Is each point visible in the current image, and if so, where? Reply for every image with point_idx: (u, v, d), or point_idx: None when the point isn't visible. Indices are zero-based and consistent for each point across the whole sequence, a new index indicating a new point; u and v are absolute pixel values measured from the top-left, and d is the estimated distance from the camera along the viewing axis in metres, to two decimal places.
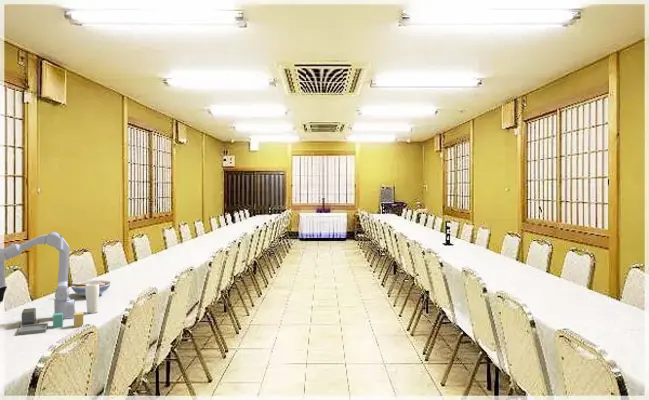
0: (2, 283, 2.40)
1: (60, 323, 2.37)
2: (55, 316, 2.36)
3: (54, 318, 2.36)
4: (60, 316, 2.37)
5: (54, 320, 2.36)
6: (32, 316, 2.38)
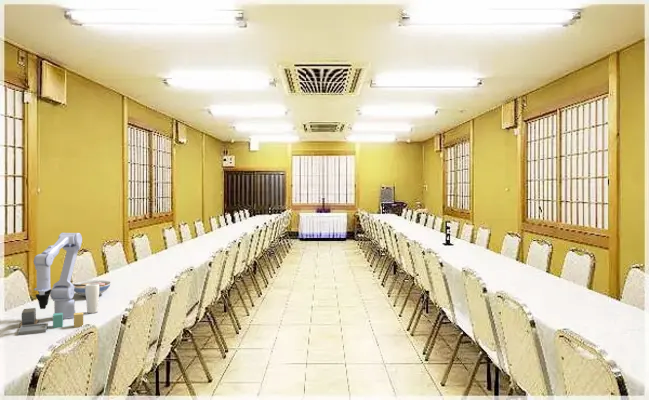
0: (47, 286, 2.36)
1: (60, 323, 2.37)
2: (55, 316, 2.36)
3: (54, 318, 2.36)
4: (60, 316, 2.37)
5: (54, 320, 2.36)
6: (32, 316, 2.38)
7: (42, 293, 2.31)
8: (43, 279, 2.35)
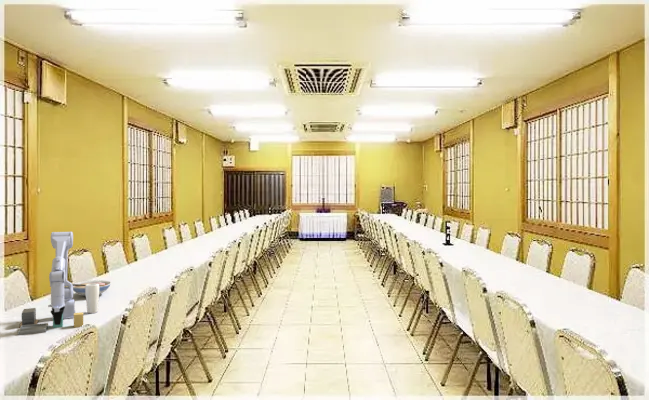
0: (62, 303, 2.37)
1: (60, 323, 2.37)
2: None
3: None
4: None
5: None
6: (32, 316, 2.38)
7: (57, 310, 2.31)
8: (57, 296, 2.35)
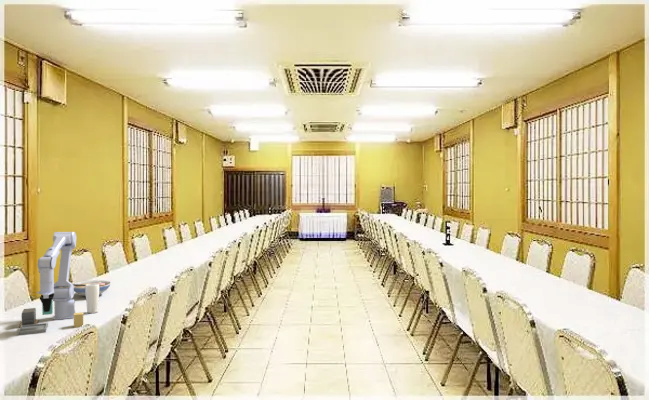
0: (51, 289, 2.33)
1: (50, 310, 2.33)
2: None
3: None
4: None
5: None
6: (32, 316, 2.38)
7: (46, 296, 2.28)
8: (47, 282, 2.32)
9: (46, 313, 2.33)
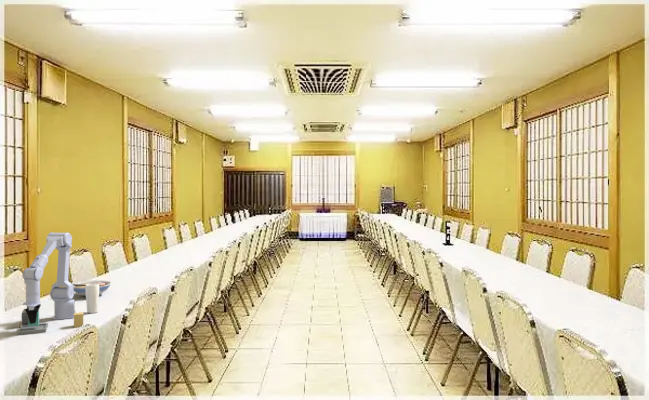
0: (37, 301, 2.30)
1: (36, 322, 2.30)
2: None
3: None
4: None
5: None
6: None
7: (31, 308, 2.24)
8: (32, 293, 2.28)
9: (32, 325, 2.29)
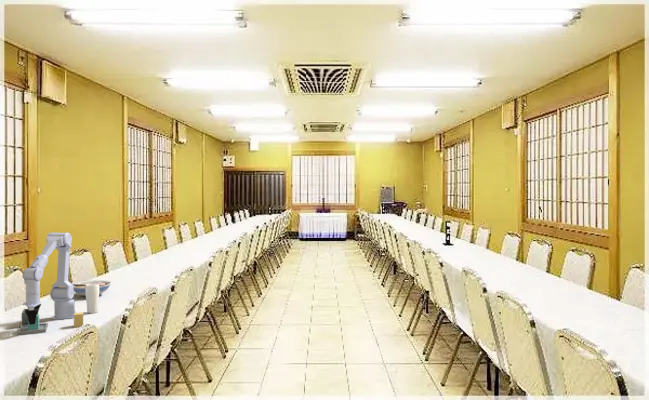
0: (37, 301, 2.30)
1: (36, 325, 2.30)
2: None
3: None
4: (36, 318, 2.30)
5: None
6: None
7: (31, 308, 2.24)
8: (32, 294, 2.28)
9: (32, 328, 2.29)
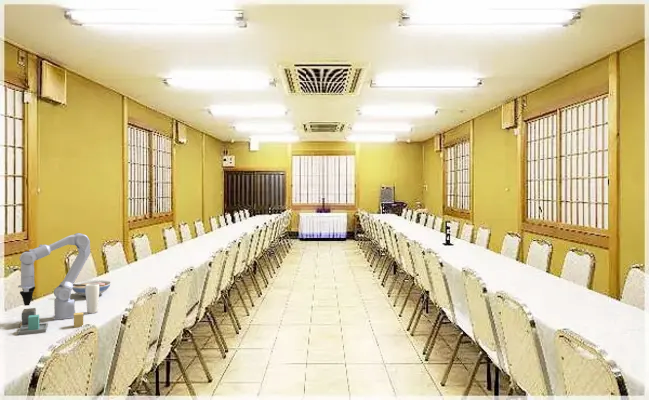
0: (31, 283, 2.43)
1: (36, 325, 2.30)
2: (31, 318, 2.29)
3: (29, 320, 2.29)
4: (36, 318, 2.30)
5: (29, 322, 2.29)
6: None
7: (26, 290, 2.37)
8: (27, 276, 2.41)
9: (32, 328, 2.29)
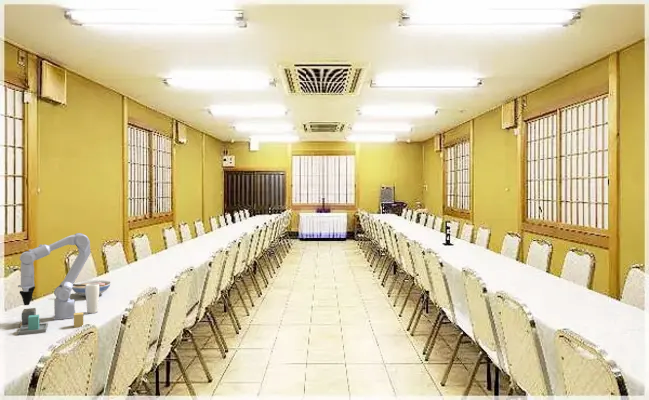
0: (31, 283, 2.43)
1: (36, 325, 2.30)
2: (31, 318, 2.29)
3: (29, 320, 2.29)
4: (36, 318, 2.30)
5: (29, 322, 2.29)
6: None
7: (26, 290, 2.38)
8: (27, 276, 2.42)
9: (32, 328, 2.29)
